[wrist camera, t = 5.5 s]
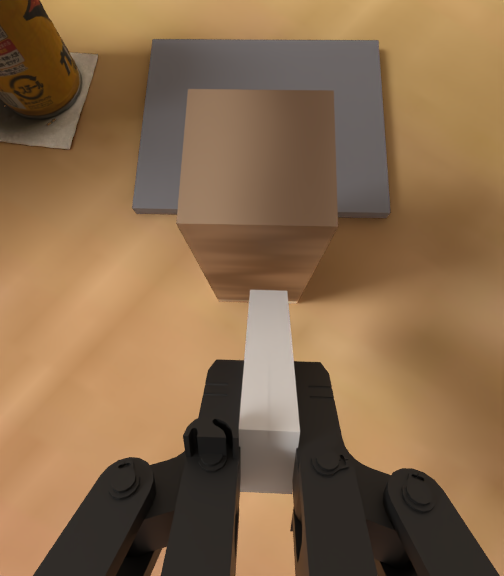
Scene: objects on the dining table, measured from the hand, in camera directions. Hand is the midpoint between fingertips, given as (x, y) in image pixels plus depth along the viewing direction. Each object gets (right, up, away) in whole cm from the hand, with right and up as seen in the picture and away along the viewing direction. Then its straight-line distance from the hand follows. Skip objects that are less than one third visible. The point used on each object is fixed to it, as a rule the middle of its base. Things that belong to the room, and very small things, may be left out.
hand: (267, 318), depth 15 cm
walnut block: (0, +3, +8) cm, 9 cm away
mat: (0, +13, +11) cm, 17 cm away
